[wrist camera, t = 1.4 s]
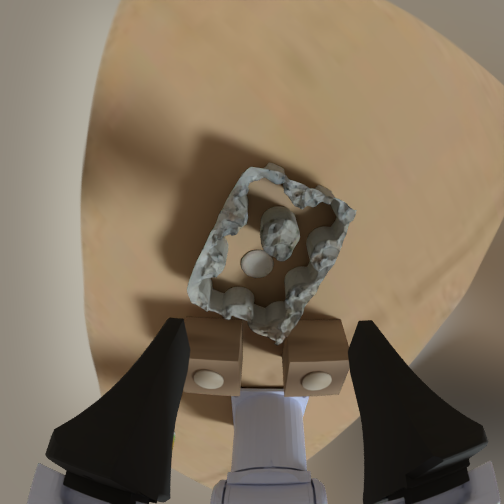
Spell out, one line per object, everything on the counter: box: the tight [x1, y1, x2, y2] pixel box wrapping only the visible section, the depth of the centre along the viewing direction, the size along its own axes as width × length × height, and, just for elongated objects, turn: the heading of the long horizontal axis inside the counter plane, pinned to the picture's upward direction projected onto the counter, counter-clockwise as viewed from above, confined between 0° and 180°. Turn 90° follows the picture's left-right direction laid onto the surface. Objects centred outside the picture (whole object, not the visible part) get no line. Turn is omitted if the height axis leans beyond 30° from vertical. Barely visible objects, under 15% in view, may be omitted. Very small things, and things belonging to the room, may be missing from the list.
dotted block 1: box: [183, 317, 243, 396], centre depth 22 cm, size 4×4×5 cm
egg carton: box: [187, 162, 356, 345], centre depth 18 cm, size 11×8×4 cm
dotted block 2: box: [282, 320, 350, 397], centre depth 22 cm, size 4×4×5 cm
